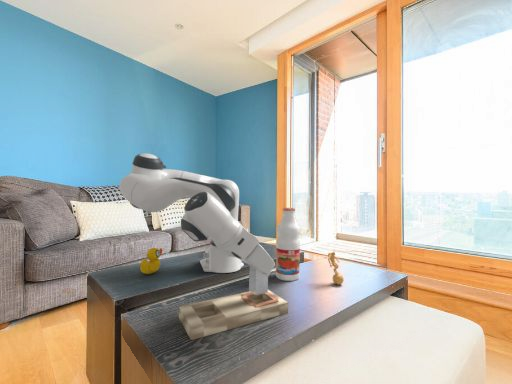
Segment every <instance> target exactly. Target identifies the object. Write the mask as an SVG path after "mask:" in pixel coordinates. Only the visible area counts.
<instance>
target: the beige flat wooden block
mask: <svg viewBox="0 0 512 384" xmlns="http://www.w3.org/2000/svg"><path fill="white" fill-rule="evenodd" d="M288 313H289V302H288V301H287V300H285V299H283V298H282V297H280V296H279V295H277V294H276V293H274V292H273V291H271V290H270V289H268V293H264V294H259V295H255V294H253V293H252V292H251V291H249V290H248V291H244V292H241V293H240V292H239V293H237V294H236V293H235V294H231V295H226V296H221V297H217V298H216V297H215V298H212V299H207V300H203V301H198V302H193V303H189V304H184V305H179V306H178V319H179V320H180V323H181V324H182V326H183V328H184V330H185V332H186V333H187V335H188V337H189V340H190V341H194V340H197V339H200V338H203V337H208V336H211V335H215V334H218V333H222V332H226V331H228V330H232V329H235V328H239V327H240V328H241V327H242V326H247V325H250V324H253V323H257V322H261V321H264V320H268V319H271V318H275V317H278V316H281V315H285V314H288Z"/></svg>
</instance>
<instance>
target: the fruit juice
mask: <svg viewBox="0 0 512 384" xmlns="http://www.w3.org/2000/svg"><path fill="white" fill-rule="evenodd" d="M295 208H296V207H283V208H282V213H283V214H282V217H281V220H280V222H279V223H278V225H277V228H276V232H277V239H276V246H275V247H276V248H275V254H276V255H275V277H276V278H277V279H278V280H281V281H285V282H286V281H287V282H293V281H297V280H298V279H299V278H300V257H301V256H300V255H301V253H300V252H301V251H300V250H301V242H300V239H299V237H300V232H301V228H300V226H299V224H298V222H297V220H296V216H295V213H296V209H295Z"/></svg>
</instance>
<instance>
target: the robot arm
mask: <svg viewBox="0 0 512 384" xmlns="http://www.w3.org/2000/svg"><path fill="white" fill-rule="evenodd" d="M118 188H119V193H120V194H121V195H122V196H123V198H125V199H126V200H127V201H128V202H129V203H130V205H131V206H132V207H133V208H134V209H138V210H142V211H143V212H144V211H145V212H148V213H157V212H162V211H164V210H166V209H167V208H168V207H170V206H171V205H173V204H175V203H176V202H177V201H179V200H181V199H183V198H186V199H188V201H187V202H186V203H185V206H184V208H183V209H184V214H183V216H182V218H181V219H180V227H181V231H183V232H184V233H185V234H186V235H187V236H188V238H190V239H191V240H192V241H194V242H195V243H196V242H204V241H208V239H210V245H209V246H208V247H207V248H206V249H205V250H204V251H205V252H203V253H202V258H203V259H200V260H199V263H200V266H201V268H202V270H203V272H206V273H207V272H208V273H215V274H216V273H217V274H218V273H219V274H226V273H233V272H237V271H240V270H241V268H243V267H244V266H245V265H244V263H245V264H247V265H249V266H250V265H251V266H252V267H254V268H256V269H258V270H259V271H261V272H263V273H264V274H265V275H267V276H268V277H269V276H270V274H271V273H272V271H273V269H274V268H275V267H276V262H275V261H274V259H273V258H272V257H271V255H270V254H269V253H268V252H267V250H266V249H265V248H264V247H263V246H262V245H261V244H260V239H258V237H257V236H256V235H254V234H252V233H251V232H250V231H248V229H247V228H245V227H244V226H243V225H242V223H241V222H239V208H240V206H239V204H240V189H239V187H238V185H237V183H235V181H233V180H231V179H221V178H218V177H217V178H216V177H213V176H207V175H203V174H198V173H195V172H190V171H185V170H180V169H179V170H178V169H172V168H171V169H170V168H167V166H166V165H165V164H164V162H163V161H162V159H161V157H159V156H156V155H154V154H152V153H147V152H146V153H139V154H136V155H135V156H134V157H133V160H132V168H131V171H130V174H129V173H128V174H126V175H125V176H124V177H122V179H121V181H120V183H119V187H118Z"/></svg>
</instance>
